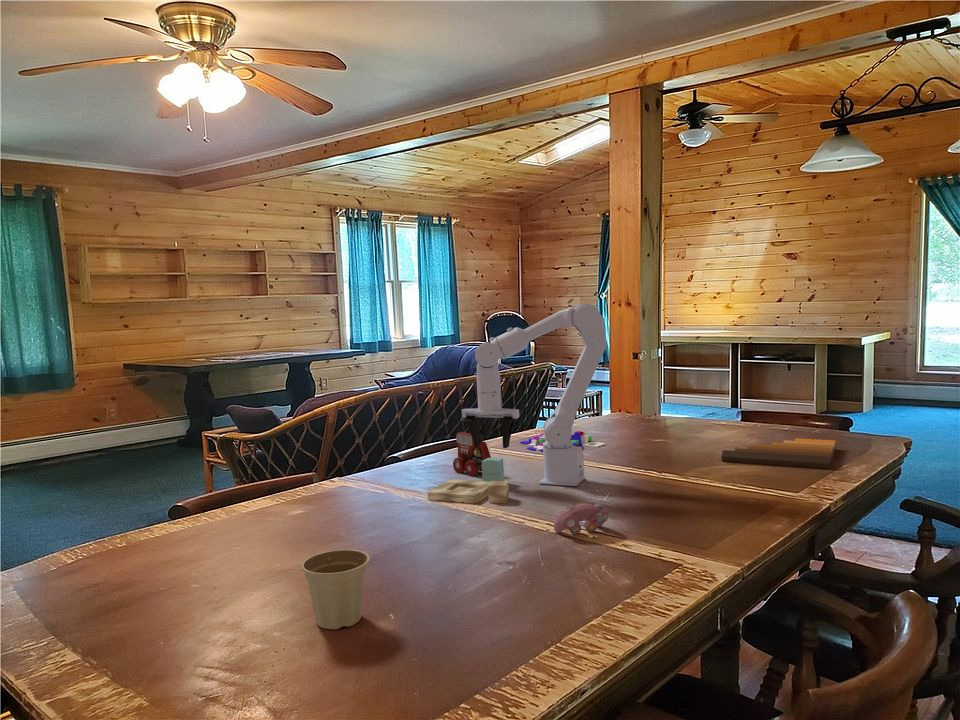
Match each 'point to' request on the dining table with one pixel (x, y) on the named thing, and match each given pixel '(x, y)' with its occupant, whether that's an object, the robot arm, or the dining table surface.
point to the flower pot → (336, 586)
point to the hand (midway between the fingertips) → (491, 446)
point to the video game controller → (581, 518)
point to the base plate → (460, 491)
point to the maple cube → (498, 491)
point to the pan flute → (786, 454)
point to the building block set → (576, 439)
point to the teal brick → (492, 469)
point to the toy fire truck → (469, 454)
